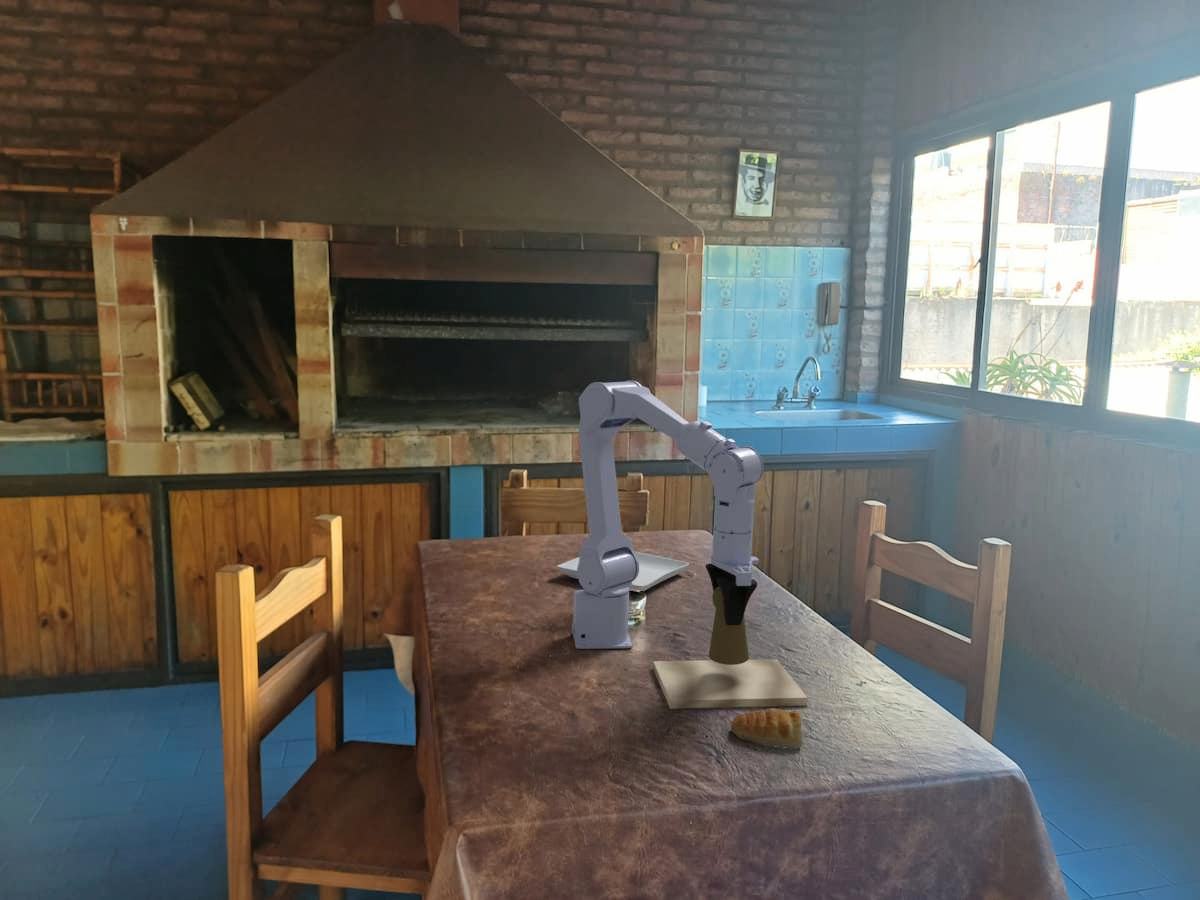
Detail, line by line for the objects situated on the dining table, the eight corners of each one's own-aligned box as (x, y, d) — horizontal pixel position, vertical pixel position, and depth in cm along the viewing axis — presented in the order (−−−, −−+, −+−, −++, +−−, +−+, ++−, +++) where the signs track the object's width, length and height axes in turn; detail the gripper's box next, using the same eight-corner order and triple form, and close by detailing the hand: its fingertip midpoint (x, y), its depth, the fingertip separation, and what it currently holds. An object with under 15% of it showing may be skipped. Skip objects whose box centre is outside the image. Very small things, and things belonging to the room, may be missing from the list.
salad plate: (690, 576, 185) (691, 560, 185) (642, 601, 167) (642, 584, 167) (607, 559, 196) (608, 544, 196) (554, 581, 178) (554, 565, 178)
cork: (705, 648, 132) (706, 580, 130) (744, 647, 132) (745, 579, 130) (712, 665, 126) (713, 594, 124) (753, 664, 126) (754, 593, 124)
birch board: (670, 708, 121) (670, 700, 120) (653, 668, 134) (653, 661, 134) (806, 705, 123) (807, 697, 123) (776, 666, 137) (776, 659, 136)
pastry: (731, 746, 111) (732, 718, 110) (730, 723, 117) (731, 696, 117) (805, 752, 110) (807, 724, 109) (799, 728, 116) (801, 702, 116)
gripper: (774, 542, 119) (768, 635, 121) (745, 518, 134) (741, 601, 136) (725, 542, 118) (720, 635, 121) (701, 517, 133) (697, 601, 135)
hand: (728, 617), depth 128 cm, fingers closed on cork, 5 cm apart
